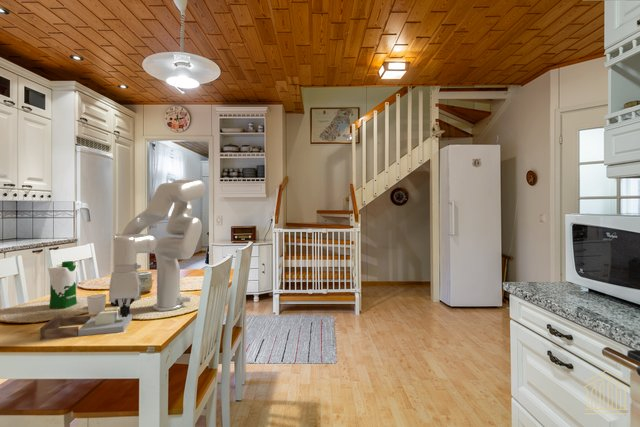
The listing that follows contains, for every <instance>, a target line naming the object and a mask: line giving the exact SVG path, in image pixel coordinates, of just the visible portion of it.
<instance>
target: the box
mask: <svg viewBox="0 0 640 427" xmlns="http://www.w3.org/2000/svg"><path fill="white" fill-rule="evenodd" d="M91 318H92V315H91V314H86V315H85V314H83V315H72V316H70V315H69V316H63V314H57V315H56V316H55V317H53V318H52V319H51V320H49V321H48V322H46V323H45V324H43V325H42V326H41V327H40V328H39V329H40V330H39V332H40V333H39V336H40V337H39V338H40V340H49V339H50V340H51V339H60V338H70V337H79V336H78V330H79V329H80V328H79V326H75V325H84V324H85V323H86V322H87V321H88V320H90V319H91ZM73 325H74V326H73ZM65 326H67V327H65Z"/></svg>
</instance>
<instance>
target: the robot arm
mask: <svg viewBox="0 0 640 427" xmlns="http://www.w3.org/2000/svg"><path fill="white" fill-rule="evenodd" d="M206 188H207V187H206V184H205V183H204V181H202V180H200V179H177V180H173V181H171V182H163V183H161V184H159V185H158V187H157V188H156V190H155V192H154V194H153V196H152V197H151V198H150V201H149V203H148V205H147V207H146V209H145V210H143V211H142V212H140V213H139V214H137V215H136V216H135V217H134V218H132V219H131V220H130V221H129V222H128V223H127V224H126V226H125V227H124V229H123V232H122V233H121V235H120V236H116V237H115V238H114V240H113V272H111V275H110V280H109V286H108V287H109V288H108V302H109V303H111V302H114V303H116V304H118V305H119V306H118V307H119V310H120V311H119V315H122V317H127V316H128V314H131V304H133V303H134V302H138V301H140V300H141V299H142V295H141V293H142V287H141V286H142V283H141V274H140V270H138V269H141V268H142V266H141V265H142V264H138V262H137V260H138V259H137V258H138V257H137V254H149V253H152V252H153V251H154V255H155V260H156V303H155V304H153V306H152V309H153V310H154V311H160V312H165V311H166V312H167V311H168V312H169V311H173V310H178V309H181V308H182V307H184V303H190V302H191V297H188V296H185V297H183V296H182V294H181V277H180V276H181V265H180V263H179V260H189V259H191V257H193V255H194V254H195V251H196V249H197V246H198V243H199V240H200V237H201V235H202V229H203V224H202V221H201V220H200V218H199V217H196V216H192V214H193V211H194V210H193V205H192V203H191V201H193V200H197V199H200V198H201V197H203V196H204V195H205V193H206ZM172 206H173V208H172ZM171 208H172V212H171V214H170V217H169V219H168V221H167V223H166V228H165V230H166V233H167V234H168V235H169V236H165V237H164V236H163V237H161V238H159V239H157V238H156V237H155V236H154V235H151V234H148V233H147V234H146V233H145V234H144V233H142V232H143V231H144V230H145V229H147V228H149V227H151V226H152V225H155V224H157V223H160V222H162V221H164V220H166V219H167V216H168V214H169V213H170V211H171ZM124 299H127V303H126V304H124Z"/></svg>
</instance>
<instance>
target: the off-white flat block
mask: <svg viewBox="0 0 640 427" xmlns="http://www.w3.org/2000/svg"><path fill="white" fill-rule="evenodd" d="M118 315H119V310H111V311H109V310H108V311H105V312H100V313H99V314H96V316H94V317H95V325H104V324H114V323H115V322H116V320H117V319H118Z"/></svg>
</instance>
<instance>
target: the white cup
mask: <svg viewBox="0 0 640 427" xmlns="http://www.w3.org/2000/svg"><path fill="white" fill-rule="evenodd" d="M86 300H87V309H88V310H87V311H88V315H91V316H92V315H98V314H99V313H100V312H106V301H107V295H106V294H92V295H89V296H87V297H86Z"/></svg>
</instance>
